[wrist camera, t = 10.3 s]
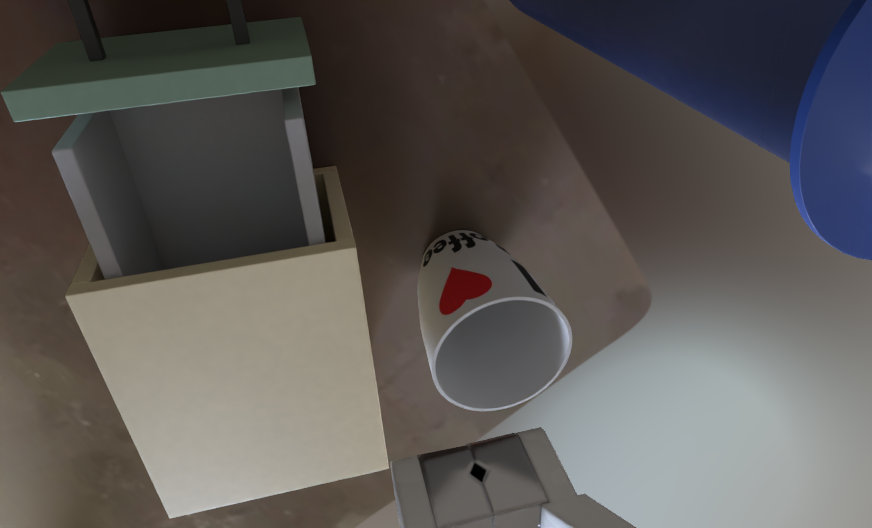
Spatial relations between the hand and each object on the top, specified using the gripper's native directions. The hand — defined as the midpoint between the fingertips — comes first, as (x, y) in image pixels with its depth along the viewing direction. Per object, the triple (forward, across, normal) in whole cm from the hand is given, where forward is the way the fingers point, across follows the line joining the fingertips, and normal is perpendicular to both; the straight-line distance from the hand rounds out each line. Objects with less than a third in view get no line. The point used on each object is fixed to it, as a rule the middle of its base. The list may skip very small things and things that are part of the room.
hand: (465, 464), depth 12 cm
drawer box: (+27, +7, +13) cm, 31 cm away
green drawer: (+26, +7, +2) cm, 27 cm away
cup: (+27, -6, +14) cm, 31 cm away
